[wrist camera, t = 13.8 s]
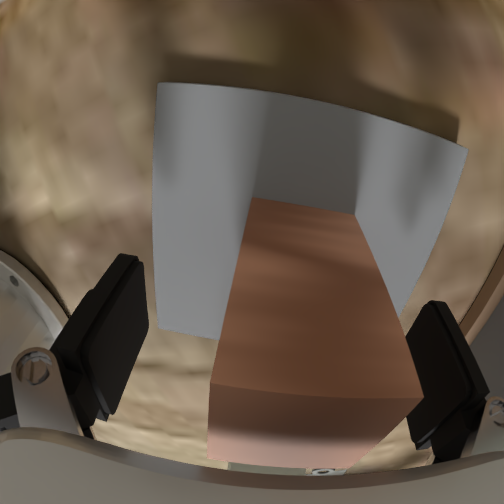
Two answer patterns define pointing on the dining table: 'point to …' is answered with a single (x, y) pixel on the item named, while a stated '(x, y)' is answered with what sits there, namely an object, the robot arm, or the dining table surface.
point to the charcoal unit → (488, 329)
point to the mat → (283, 188)
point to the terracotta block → (307, 346)
